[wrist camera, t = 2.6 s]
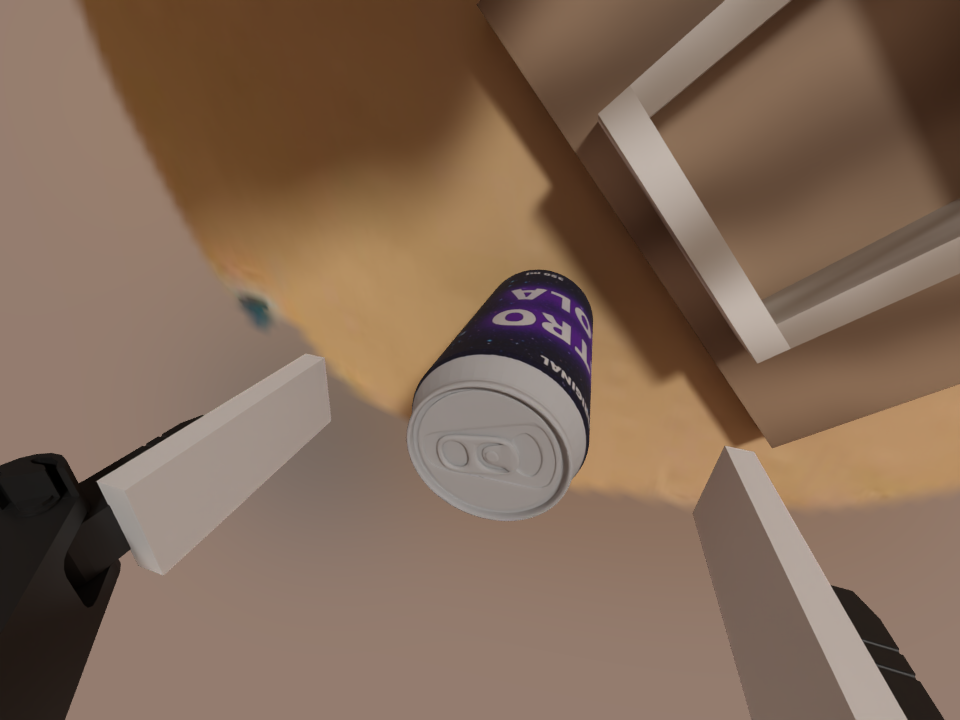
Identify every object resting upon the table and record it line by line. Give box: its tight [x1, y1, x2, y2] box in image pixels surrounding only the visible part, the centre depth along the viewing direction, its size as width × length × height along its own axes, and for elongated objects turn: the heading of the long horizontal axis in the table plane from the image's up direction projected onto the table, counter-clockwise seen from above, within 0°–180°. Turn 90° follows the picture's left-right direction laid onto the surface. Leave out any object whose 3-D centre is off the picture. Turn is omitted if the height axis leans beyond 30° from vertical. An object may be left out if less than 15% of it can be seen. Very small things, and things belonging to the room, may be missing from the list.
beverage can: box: [407, 270, 593, 521], centre depth 16 cm, size 6×6×12 cm
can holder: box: [477, 0, 960, 448], centre depth 13 cm, size 24×14×4 cm, turn 40°
